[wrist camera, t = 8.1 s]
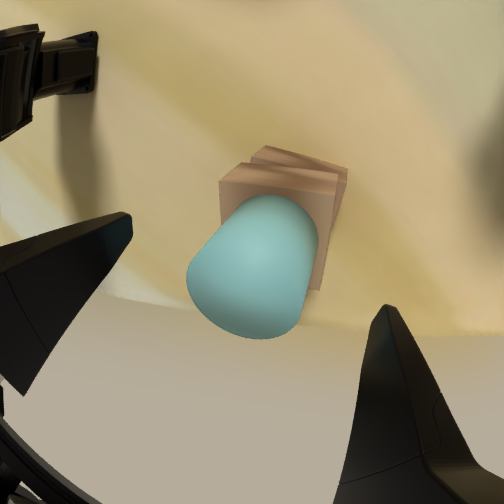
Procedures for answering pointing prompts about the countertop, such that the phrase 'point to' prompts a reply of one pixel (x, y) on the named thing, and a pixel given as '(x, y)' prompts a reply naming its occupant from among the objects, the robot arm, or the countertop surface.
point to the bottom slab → (303, 167)
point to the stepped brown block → (289, 186)
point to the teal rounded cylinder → (256, 268)
